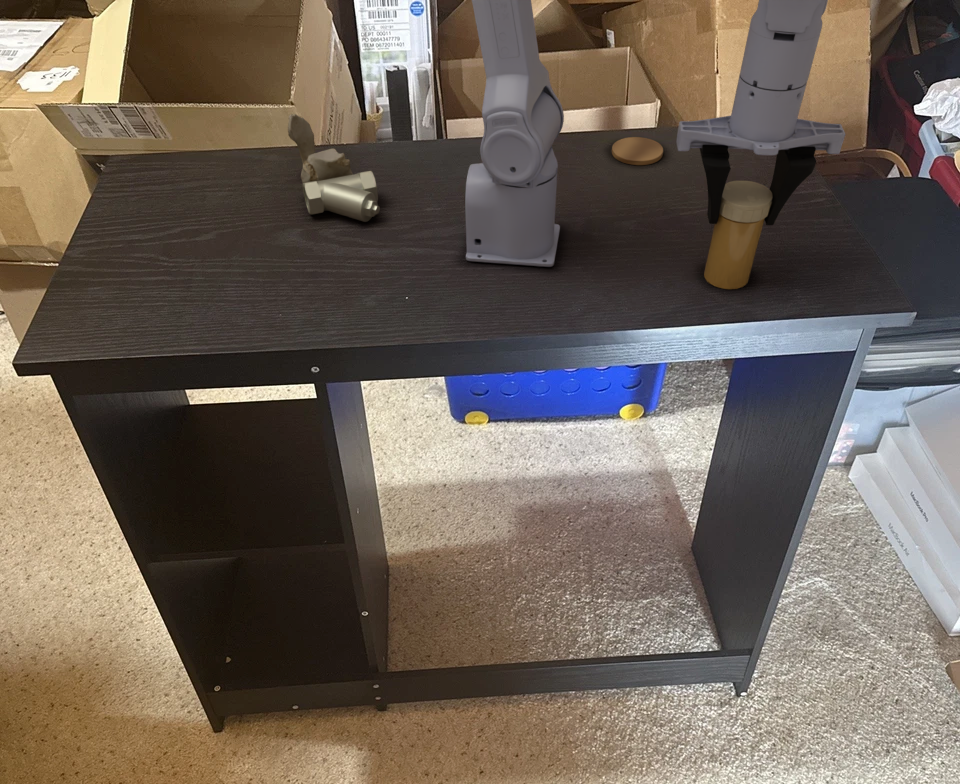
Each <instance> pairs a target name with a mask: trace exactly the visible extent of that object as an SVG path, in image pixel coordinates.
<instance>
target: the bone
mask: <svg viewBox="0 0 960 784" xmlns="http://www.w3.org/2000/svg"><path fill="white" fill-rule="evenodd" d="M287 133H288V137H289V139H290V140H291V141H293V142H294V143H295V144H296V146H297V149H298V152H299V155H300V156H299V157H300V158H301V163H302V169H301V172H300V179H301V182H302V184H303V183H306V182H312V181H321V180H327V179H332V178H337V177H343V176H348V175H354V173H353V172H352V170H351V160H350V159H347V158H346V156H345V153H344V152H342V153H339V152H338V151H337V150H336V149H335V148H329V149H325V150H322V151H318V152H316V145H315V144H316V143H315V134H314V131H313V129H312V126H311V124H310V123H309V121H308V120H306V119H305V118H304V117H303V116H300V115H297V114H296V113H291V114H289V115H288V123H287Z"/></svg>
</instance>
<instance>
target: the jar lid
mask: <svg viewBox="0 0 960 784" xmlns="http://www.w3.org/2000/svg"><path fill="white" fill-rule="evenodd" d="M769 189H770V188H769V187H768V186H765V185H764V184H761V183H759V182H755V181H751V180H743V179H742V180H733V181H729V182H726V184H725V187H724V191H723V194H722V199H721V206H720V214H721V215H722V216H723V217H725V218H727V219H730V220H732V221H737V222H744V223H751V222H757V221H760V220H762V219H764V218H765V217H767V216H768V213H769V209H770V206H771V204H772V198H773V195H772V192H771V191H770V190H769Z"/></svg>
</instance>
